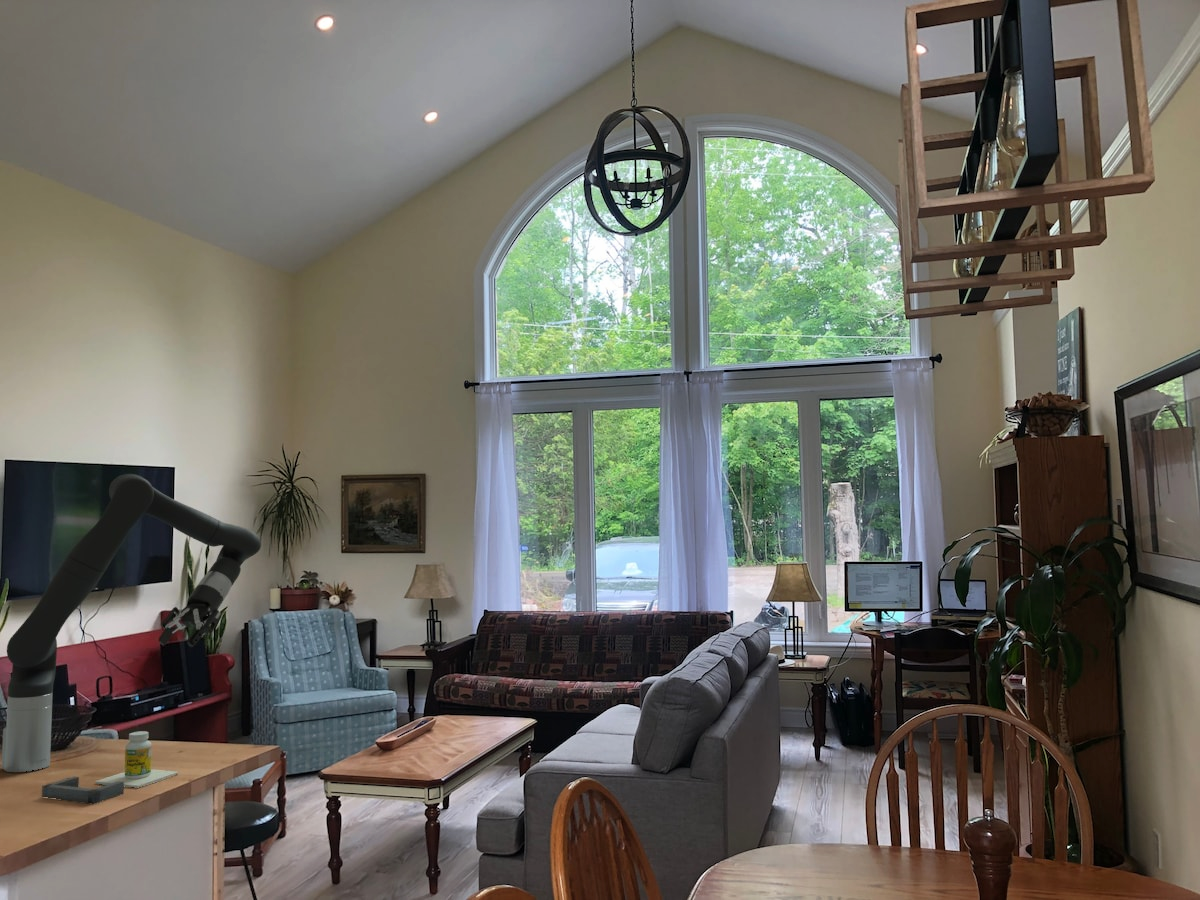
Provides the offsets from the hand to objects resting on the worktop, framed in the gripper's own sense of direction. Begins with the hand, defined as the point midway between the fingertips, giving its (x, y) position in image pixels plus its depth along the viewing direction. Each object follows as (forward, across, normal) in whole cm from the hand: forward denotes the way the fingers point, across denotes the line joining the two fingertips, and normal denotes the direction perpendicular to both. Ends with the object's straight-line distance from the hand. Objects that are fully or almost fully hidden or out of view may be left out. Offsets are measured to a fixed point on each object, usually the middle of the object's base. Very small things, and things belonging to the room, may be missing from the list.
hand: (175, 643), depth 227 cm
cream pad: (+30, +3, +11) cm, 32 cm away
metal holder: (+39, +2, +1) cm, 39 cm away
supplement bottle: (+29, +3, +10) cm, 31 cm away
